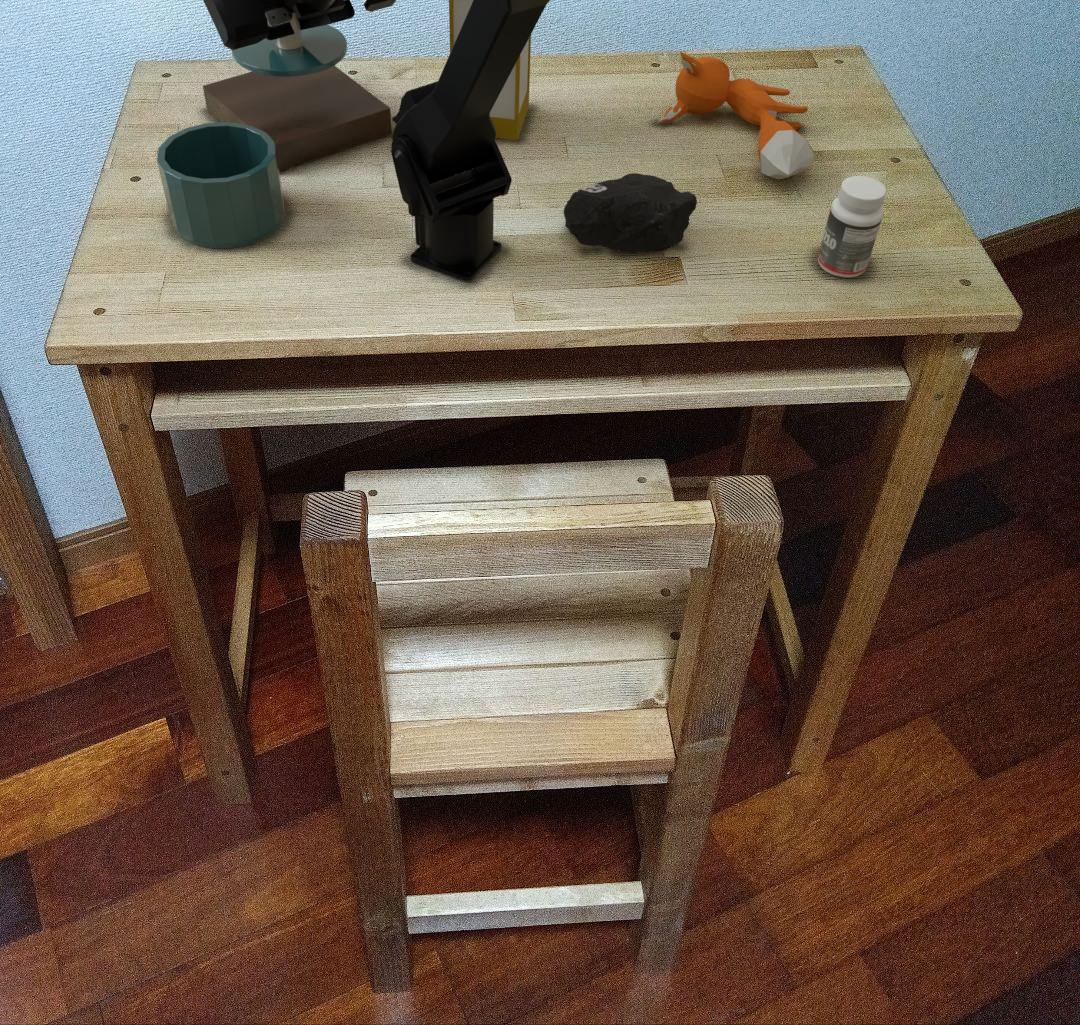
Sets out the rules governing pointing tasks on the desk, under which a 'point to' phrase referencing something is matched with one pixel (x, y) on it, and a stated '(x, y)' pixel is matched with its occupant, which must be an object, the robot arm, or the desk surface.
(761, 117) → the toy
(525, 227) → the desk surface
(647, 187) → the rock
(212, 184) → the jar
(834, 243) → the pill bottle
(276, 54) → the lid
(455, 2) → the white and yellow box
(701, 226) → the desk surface
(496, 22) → the robot arm
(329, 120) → the board
